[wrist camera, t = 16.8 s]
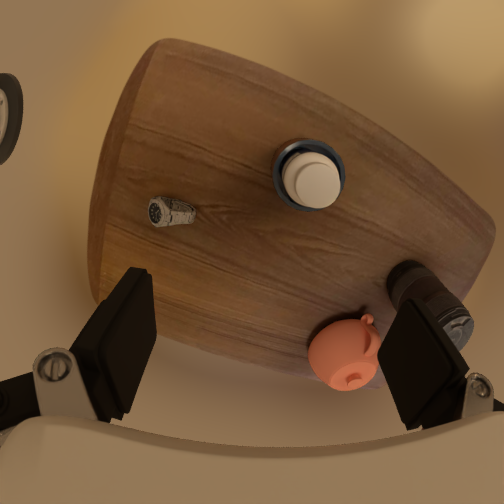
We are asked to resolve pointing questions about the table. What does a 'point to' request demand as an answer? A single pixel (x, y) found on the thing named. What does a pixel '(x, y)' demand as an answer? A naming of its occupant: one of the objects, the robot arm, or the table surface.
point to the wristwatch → (170, 211)
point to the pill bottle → (310, 178)
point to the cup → (307, 144)
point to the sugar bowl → (346, 353)
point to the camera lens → (431, 299)
